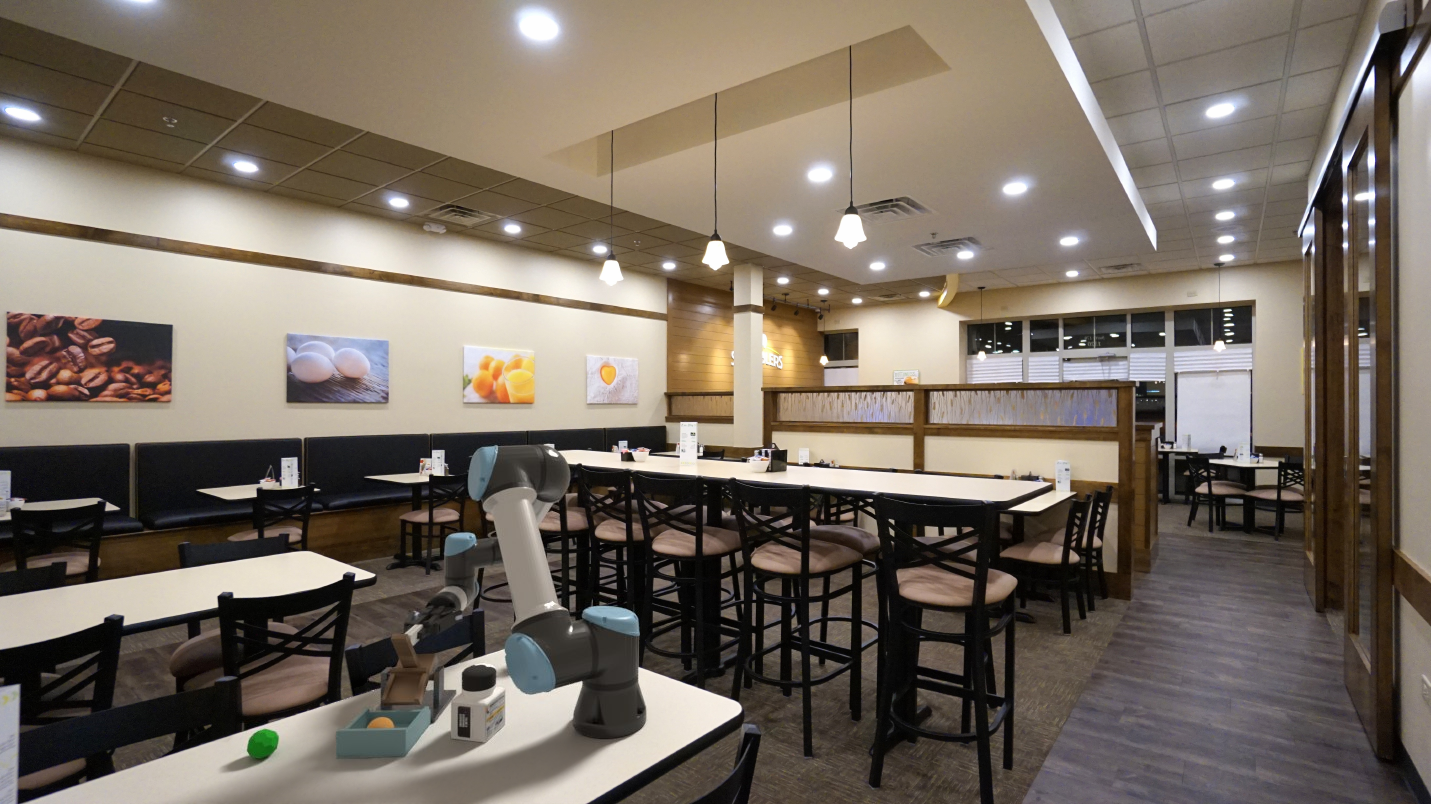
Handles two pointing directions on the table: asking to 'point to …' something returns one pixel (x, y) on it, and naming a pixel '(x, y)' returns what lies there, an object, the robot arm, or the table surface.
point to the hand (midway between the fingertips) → (406, 641)
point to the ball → (381, 723)
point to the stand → (432, 698)
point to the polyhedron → (262, 743)
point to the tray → (382, 734)
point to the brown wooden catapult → (409, 674)
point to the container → (478, 705)
